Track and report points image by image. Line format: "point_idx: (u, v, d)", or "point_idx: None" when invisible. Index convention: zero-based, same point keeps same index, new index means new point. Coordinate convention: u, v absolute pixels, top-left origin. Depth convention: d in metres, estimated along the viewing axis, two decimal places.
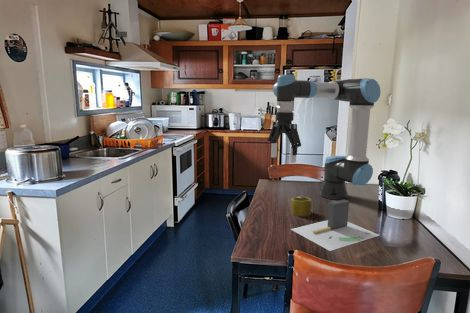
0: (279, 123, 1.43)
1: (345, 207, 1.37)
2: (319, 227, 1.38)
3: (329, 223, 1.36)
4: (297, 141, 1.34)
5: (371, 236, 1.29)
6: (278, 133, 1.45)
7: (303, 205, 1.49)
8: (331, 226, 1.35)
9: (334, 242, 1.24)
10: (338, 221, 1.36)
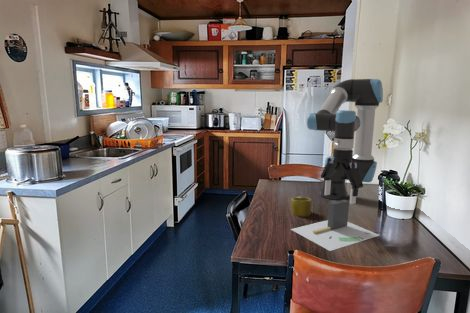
0: (336, 160, 1.34)
1: (345, 207, 1.37)
2: (319, 227, 1.38)
3: (329, 223, 1.36)
4: (359, 182, 1.26)
5: (371, 236, 1.29)
6: (334, 170, 1.36)
7: (303, 205, 1.49)
8: (331, 226, 1.35)
9: (334, 242, 1.24)
10: (338, 221, 1.36)
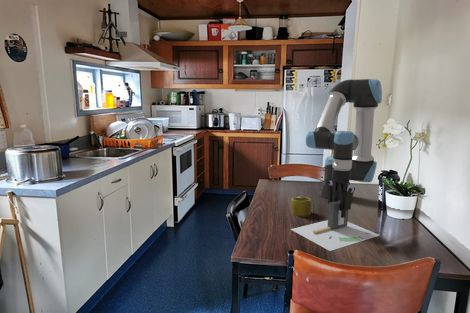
0: (334, 179, 1.36)
1: None
2: (319, 227, 1.38)
3: (329, 223, 1.36)
4: (348, 205, 1.31)
5: (371, 236, 1.29)
6: (336, 192, 1.36)
7: (303, 205, 1.49)
8: (331, 226, 1.35)
9: (334, 242, 1.24)
10: None
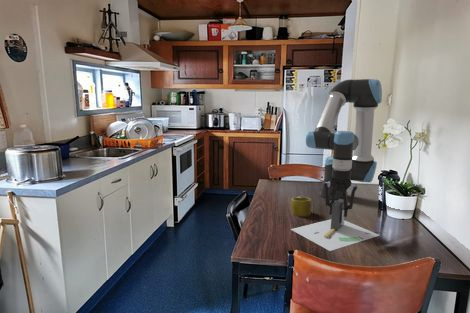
0: (334, 180, 1.34)
1: None
2: (319, 227, 1.38)
3: (333, 224, 1.34)
4: (352, 204, 1.34)
5: (371, 236, 1.29)
6: (336, 193, 1.35)
7: (303, 205, 1.49)
8: (335, 227, 1.34)
9: (334, 242, 1.24)
10: (339, 221, 1.36)
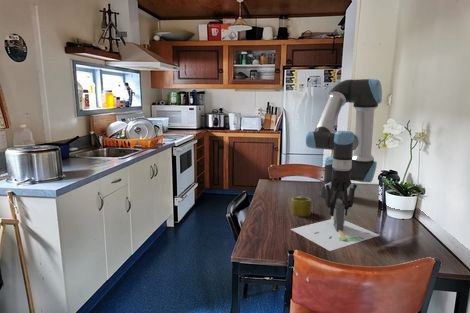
0: (336, 181, 1.33)
1: None
2: (319, 227, 1.38)
3: (339, 225, 1.33)
4: None
5: (371, 236, 1.29)
6: None
7: (303, 205, 1.49)
8: (341, 228, 1.33)
9: (334, 242, 1.24)
10: None
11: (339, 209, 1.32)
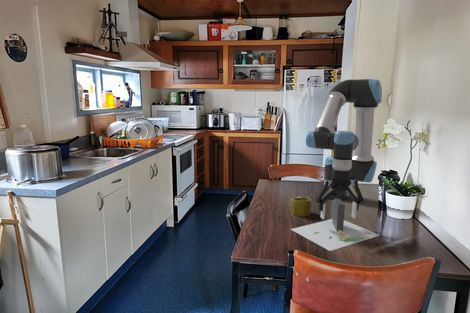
0: (336, 182, 1.33)
1: None
2: (319, 227, 1.38)
3: (339, 225, 1.33)
4: None
5: (371, 236, 1.29)
6: None
7: (303, 205, 1.49)
8: (341, 228, 1.33)
9: (334, 242, 1.24)
10: None
11: (339, 209, 1.32)
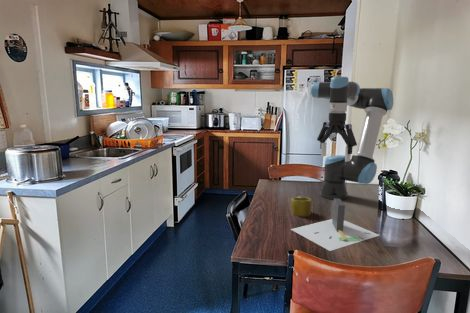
0: (331, 123, 1.48)
1: None
2: (319, 227, 1.38)
3: (339, 225, 1.33)
4: (353, 141, 1.40)
5: (371, 236, 1.29)
6: (329, 133, 1.50)
7: (303, 205, 1.49)
8: (341, 228, 1.33)
9: (334, 242, 1.24)
10: None
11: (339, 209, 1.32)
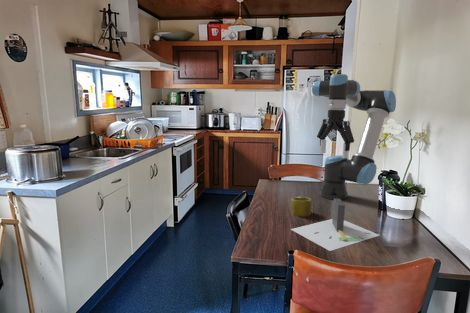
0: (330, 120, 1.49)
1: None
2: (319, 227, 1.38)
3: (339, 225, 1.33)
4: (350, 137, 1.41)
5: (371, 236, 1.29)
6: (328, 130, 1.52)
7: (303, 205, 1.49)
8: (341, 228, 1.33)
9: (334, 242, 1.24)
10: None
11: (339, 209, 1.32)
